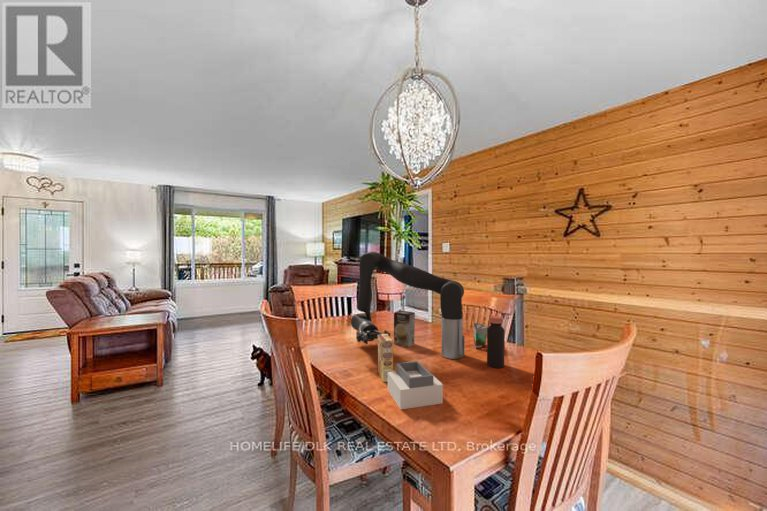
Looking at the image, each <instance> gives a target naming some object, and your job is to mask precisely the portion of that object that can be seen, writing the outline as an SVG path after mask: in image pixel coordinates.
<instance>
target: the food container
mask: <svg viewBox="0 0 767 511" xmlns="http://www.w3.org/2000/svg"><path fill="white" fill-rule="evenodd" d="M487 328H488V326H487V325H485V324H483V323H478V322H474V323H473V343H474V349H475V348H476V349H475V350H483V349H485V348H486V347H487ZM482 348H483V349H482Z"/></svg>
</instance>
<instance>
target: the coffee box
mask: <svg viewBox="0 0 767 511" xmlns="http://www.w3.org/2000/svg"><path fill="white" fill-rule="evenodd" d="M415 320H416V313H415V312H414V311H413V312H412V311H407V310H396V311H394V312H393V345H398V346H403V347H412V346H413V345H414V344H415V332H416V331H415V323H416V322H415Z"/></svg>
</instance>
